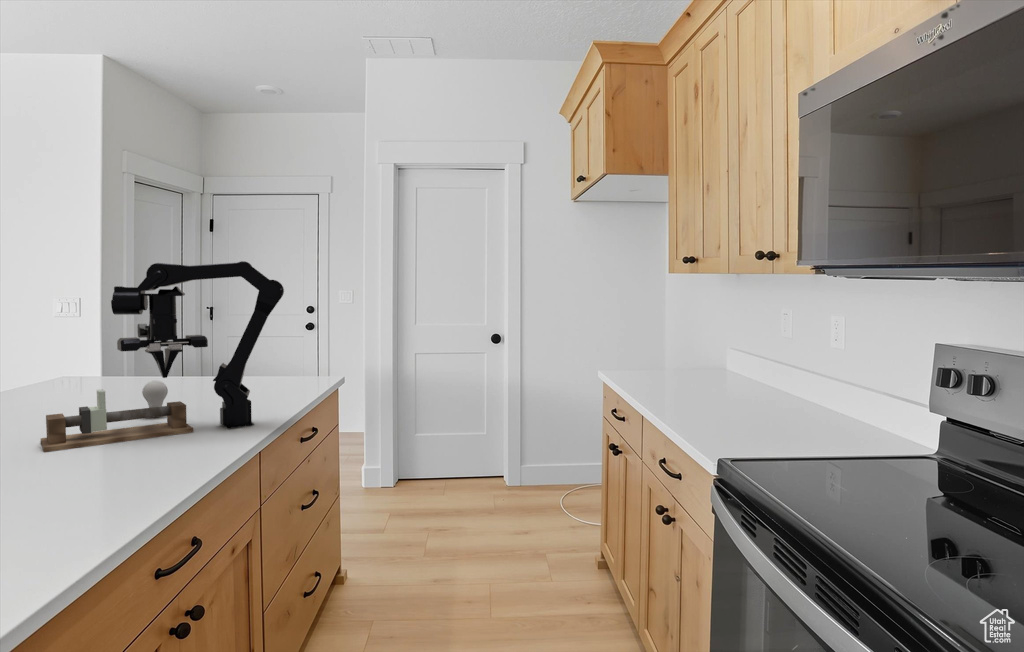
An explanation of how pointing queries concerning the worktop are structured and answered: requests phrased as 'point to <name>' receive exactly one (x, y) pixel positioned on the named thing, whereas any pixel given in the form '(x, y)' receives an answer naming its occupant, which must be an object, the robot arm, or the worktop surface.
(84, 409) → the dark grey angular piece
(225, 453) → the worktop surface
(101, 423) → the sleeve
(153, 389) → the light bulb
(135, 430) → the pipe stand
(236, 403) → the robot arm
